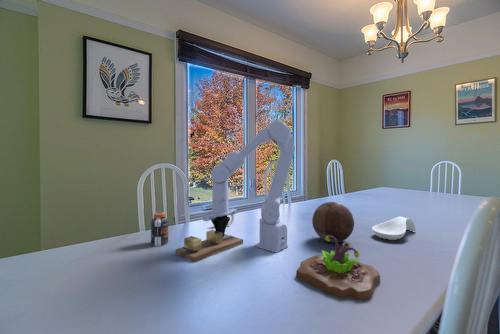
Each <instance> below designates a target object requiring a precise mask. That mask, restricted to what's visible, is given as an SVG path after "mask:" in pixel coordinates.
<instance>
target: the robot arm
mask: <svg viewBox="0 0 500 334" xmlns="http://www.w3.org/2000/svg"><path fill="white" fill-rule="evenodd" d="M291 133H292V132H291V129H290V128H289V127H288V126H287V124H286V123H285V122H284V121H282V120H280V119H279V120H274V121H273V122H271V123H270V124H269V126H268V125H267V126H266V127H264V128H262V129H261V130H260V131H258V133H256V135H254V137H253V138H252V139H251V140H249V141H248V142H247V143H246V144H245V146H243V147H242V148H241V149H240V150H234V151H230V152H228V155H227V157H225V159H223V160H222V161H219V162H218V165H217V166H214V167H213V169H212V170H211V173H210V175H211V179H212V195H211V196H212V206H211V207H212V210H210V212H208V213H205V214H202V221H204V222H209V221H211V223H212V225H213V227H214V230H215V231H219V232H222V238H223V237H224V234H225V233H226V228H227V227H228V226H227V224H229V223H230V222H231V218H230V217H231V215H232V214H233V215H237V208H229V178H230V175H233V174H235V172H236V171H238V170H239V169H240V168H241V167H242V166H243V165H244V164H246V157H248V156H249V155H250V154H251V153H253V151H255V150H256V149H257V148H259V146H261V145H262V144H264V143H268V142H271V141H272V142H274V143H275V144H276V146H277V148H278V149H279V151H280V152H279V156H278V158H277V161H276V166H275V168H274V172H273V176H272V179H271V184H270V186H269V189H268V193H267V195H266V198H265V201H263V203H262V205H261V207H260V215H261V217H260V219H259V241H258V243H256V244H255V243H254V247H257V248H259V249H262V250H267V251H269V252H273V253H279V252H280V251H282V250H284V249H286V248H288V247H289V244H288V228H287V225H286V224H284V223H281V220H280V216H281V215H280V206H281V199H282V195H283V191H284V188H285V184H286V181H287V177H288V174H289V170H290V167H291V164H292V161H293V157H294V153H295V150H296V148H295V143H294V141H293V137H292V134H291ZM229 216H230V217H229Z"/></svg>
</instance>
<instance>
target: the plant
mask: <svg viewBox="0 0 500 334" xmlns="http://www.w3.org/2000/svg"><path fill="white" fill-rule="evenodd" d="M325 239H326V242H328V243H330V242H329V241H331V239H334V241H335V245H334V246H335V248H334V249H335V250H333V249H332V250H331V251H330V253H329V252H328V251H325V250H321V254H317V255H314V256H311V257H307V258H306V259H304V260H303V261H301V262H300V265H299V267H298V268H297V269H296V272H295V275H296V276H295V278H297V279H298V280H299V281H302V282H304V283H306V284H308V285H309V286H311V287H313V288H317V289H318V290H322V291H323V292H324V293H326V294H327V295H331V296H336V297H337V298H340V299H348V298H353V299H355V300H357V301H366V300H369V299H371V298H372V297H373V296H374V289H375V288H376V287H377V285H379V284H380V283H381V275H380V273H379V271H378V269H376V268H375V267H374V266H373V265H371V264H367V263H362V262H360V261H359V260H360V259H359V258H360V252H359V251H358V250H357V249H356V248H354V247H351V245H350V243H349V242H348V241H343V243H342V245H341V247H340V245H339V243H340V242H337V240H336V238H335V237H333V236H331V235H330V236H329V235H328V236H326V238H325ZM350 250H351V251H354V252H353V254H354V255H353V256H354V257H355V258H353V259H352V258H350V256H351V254H350V253H347V252H348V251H350ZM378 283H379V284H378Z"/></svg>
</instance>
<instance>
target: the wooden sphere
mask: <svg viewBox="0 0 500 334" xmlns="http://www.w3.org/2000/svg"><path fill="white" fill-rule="evenodd" d="M311 221H312V222H311V224H312V227H313V230H314V232H315V234H317V236H318V237H319V238H320V239H322V240H324V241H326V239H325V238H326V236H328V235H329V236H330V235H331V236H333V237H335V238H336V240H337V242H338V243H340V242H344V241H346V240H347V239H348V238H349V237H350V236H351V234H352V233H353V231H354V226H355V219H354V216H353V213H352V212H351V210H350V209H349V207H347V206H346V205H344V204H342V203H339V202H335V201H327V202H325V203H322V204H321V205H319V206H318V207H317V208H315V210H314V212H313V215H312V218H311ZM326 242H327V241H326ZM328 243H335V241H334V239H331V241H329V242H328Z"/></svg>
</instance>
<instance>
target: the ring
mask: <svg viewBox="0 0 500 334" xmlns="http://www.w3.org/2000/svg"><path fill="white" fill-rule="evenodd" d="M230 217H231V219H230V221H229V222H228V224H227V227H228V226H230V225H232V223H233V222H234V217H235V216H234V214H232V215H230Z"/></svg>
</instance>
